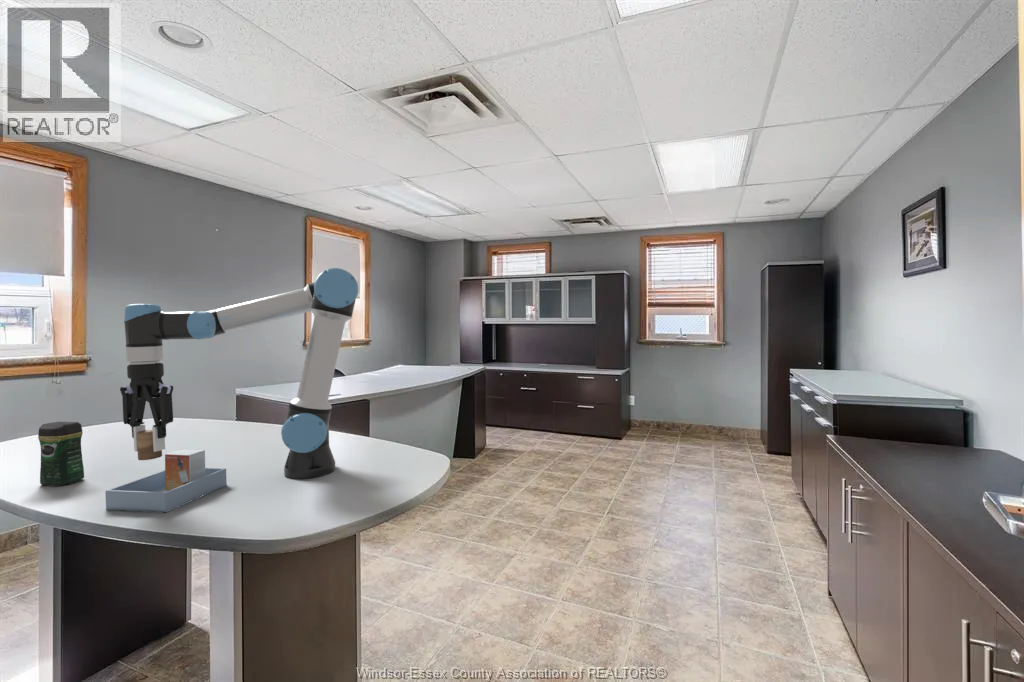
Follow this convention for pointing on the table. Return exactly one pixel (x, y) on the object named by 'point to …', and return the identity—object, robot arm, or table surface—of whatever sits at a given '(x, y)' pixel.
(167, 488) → the small box
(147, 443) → the tan wooden block
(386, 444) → the table surface
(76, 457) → the coffee jar
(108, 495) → the tray
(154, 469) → the table surface
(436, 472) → the table surface
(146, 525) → the table surface
